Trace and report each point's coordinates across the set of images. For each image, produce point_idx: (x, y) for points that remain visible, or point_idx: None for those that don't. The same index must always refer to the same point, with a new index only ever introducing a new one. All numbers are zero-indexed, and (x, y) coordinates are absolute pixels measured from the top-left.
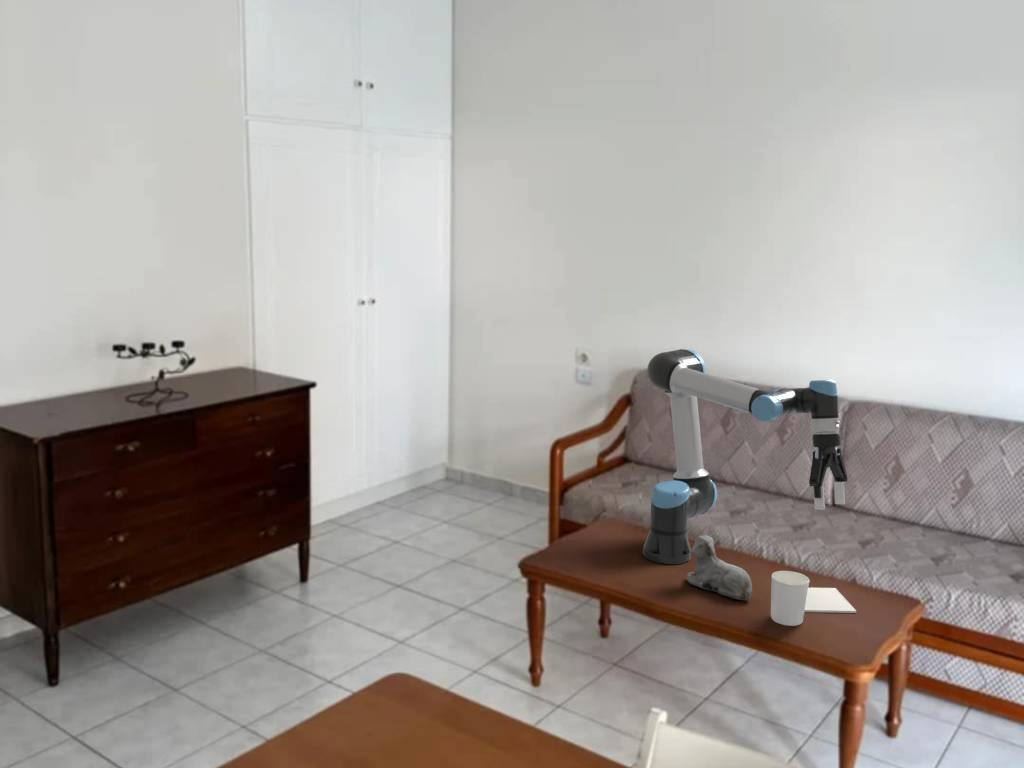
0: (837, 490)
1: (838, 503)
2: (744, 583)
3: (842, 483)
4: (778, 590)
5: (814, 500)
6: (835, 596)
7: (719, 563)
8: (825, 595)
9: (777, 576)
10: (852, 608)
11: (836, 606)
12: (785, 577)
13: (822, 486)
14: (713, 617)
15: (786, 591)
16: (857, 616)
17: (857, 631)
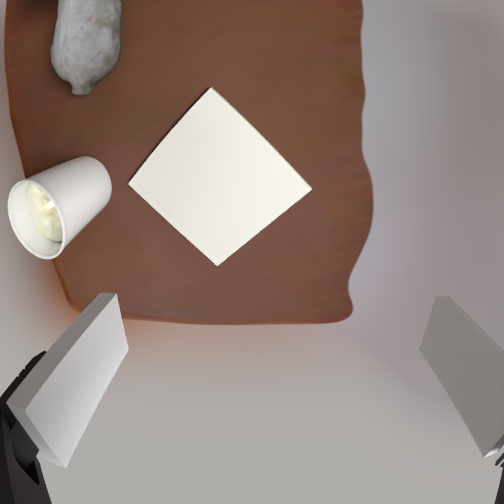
0: (476, 375)
1: (432, 320)
2: (66, 80)
3: (482, 447)
4: (22, 206)
5: (71, 327)
6: (258, 208)
7: (61, 3)
8: (246, 189)
9: (39, 179)
10: (222, 256)
11: (205, 230)
12: (56, 188)
13: (53, 461)
14: (16, 103)
15: (25, 223)
16: (205, 269)
17: (149, 286)
